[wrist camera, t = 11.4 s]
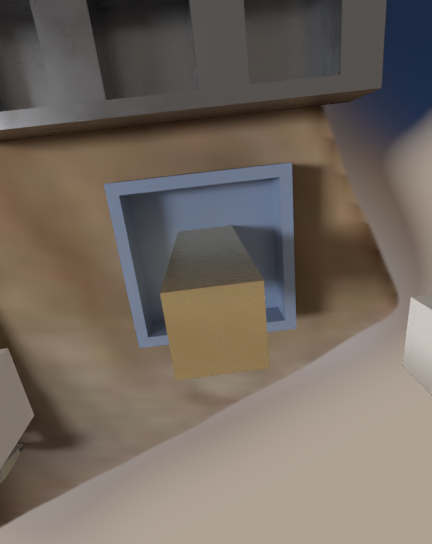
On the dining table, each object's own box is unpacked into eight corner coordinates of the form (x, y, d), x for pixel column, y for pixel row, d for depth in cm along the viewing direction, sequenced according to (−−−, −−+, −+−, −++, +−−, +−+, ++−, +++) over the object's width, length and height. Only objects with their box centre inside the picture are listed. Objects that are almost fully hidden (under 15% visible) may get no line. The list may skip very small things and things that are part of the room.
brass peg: (178, 231, 23) (159, 293, 12) (231, 225, 23) (264, 280, 12) (185, 281, 24) (175, 380, 13) (235, 275, 24) (269, 368, 13)
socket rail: (-28, 143, 21) (-78, 138, 17) (-70, 19, 19) (-138, -18, 15) (349, 101, 22) (381, 87, 18) (352, -24, 19) (390, -71, 15)
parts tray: (115, 181, 22) (103, 183, 19) (280, 163, 23) (291, 162, 20) (145, 328, 26) (139, 347, 23) (285, 311, 26) (296, 328, 24)
